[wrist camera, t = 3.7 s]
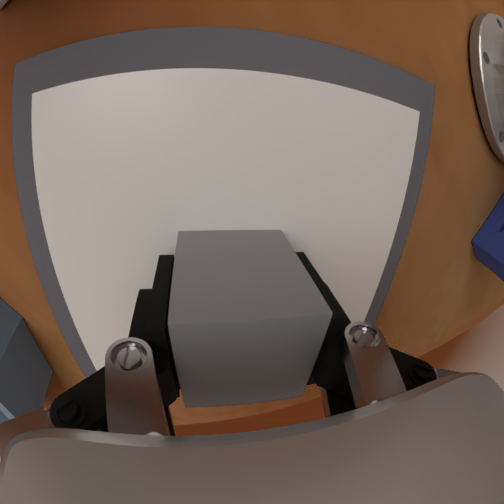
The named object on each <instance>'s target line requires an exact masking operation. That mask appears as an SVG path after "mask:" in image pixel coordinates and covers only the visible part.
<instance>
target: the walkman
mask: <svg viewBox="0 0 504 504" xmlns="http://www.w3.org/2000/svg"><path fill="white" fill-rule="evenodd" d="M472 244H473V247H474V251H475V255H476V259H478V260H479V261H480V262H481V263H483V264H484V265H485V266H486V267H488V268H489V269H490V270H491V271H492V272H493V273H495V274H496V275H497V276H498V277H499V278H500V279H502V280H503V281H504V193H503V195H502V196H501V198H500V200H499V201H498V203H497V205H496V206H495V208H494V209H493V211H492V212H491V214H490V215H489V217H488V218H487V220H486V221H485V223H484V224H483V226H482V227H481V229H480V230H479V231H478V233H477V234H476V236H475V237H474V238H473V240H472Z"/></svg>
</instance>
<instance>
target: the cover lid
mask: <svg viewBox="0 0 504 504" xmlns="http://www.w3.org/2000/svg"><path fill="white" fill-rule="evenodd" d="M419 114H420V112H419V111H417V110H414V109H412V108H409V107H407V106H404V105H401V104H399V103H396V102H393V101H390V100H387V99H384V98H381V97H378V96H375V95H372V94H369V93H365V92H362V91H358V90H355V89H351V88H347V87H343V86H339V85H335V84H331V83H327V82H322V81H317V80H312V79H307V78H302V77H296V76H290V75H283V74H276V73H268V72H259V71H249V70H236V69H216V68H177V69H158V70H145V71H135V72H127V73H119V74H112V75H106V76H100V77H95V78H90V79H85V80H80V81H75V82H71V83H67V84H63V85H59V86H56V87H52V88H48V89H45V90H42V91H39V92H35V93H32V113H31V123H32V149H33V162H34V172H35V180H36V187H37V194H38V200H39V206H40V212H41V217H42V222H43V226H44V231H45V235H46V239H47V243H48V247H49V251H50V255H51V258H52V262H53V265H54V269H55V272H56V275H57V278H58V281H59V284H60V287H61V290H62V293H63V296H64V299H65V301H66V304H67V307H68V309H69V312H70V314H71V317H72V319H73V322H74V324H75V326H76V329H77V331H78V333H79V336H80V338H81V340H82V342H83V344H84V346H85V349H86V351H87V353H88V355H89V357H90V359H91V361H92V363H93V365H94V367H95V368H96V370H97V371H98V370H99V369H101V368H102V367H104V366H105V355H106V351H107V349H108V348H109V346H110V345H112V344H113V343H114V342H115V341H117V340H119V339H122V338H127V337H128V336H129V331H130V326H131V322H132V317H133V313H134V308H135V304H136V300H137V296H138V292H139V290H140V289H152V287H153V282H154V277H155V272H156V268H157V263H158V259H159V255H174V258H175V259H174V267H173V275H172V284H171V293H170V303H169V314H168V329H169V335H170V340H171V346H172V351H173V356H174V361H175V366H176V370H177V375H178V379H179V384H180V388H181V392H182V396H183V400H184V404H185V408H194V407H216V406H231V405H242V404H251V403H260V402H268V401H275V400H281V399H288V398H294V397H299V396H302V394H303V392H304V389H305V387H306V384H307V382H308V380H309V377H310V375H311V372H312V370H313V367H314V364H315V362H316V359H317V357H318V354H319V351H320V349H321V346H322V343H323V340H324V338H325V335H326V332H327V329H328V326H329V323H330V320H331V317H332V314H333V313H332V311H331V309H330V308H329V306H328V304H327V303H326V301H325V299H324V298H323V296H322V294H321V293H320V291H319V289H318V288H317V286H316V285H315V283H314V281H313V280H312V278H311V277H310V275H309V273H308V272H307V270H306V269H305V267H304V265H303V264H302V262H301V261H300V259H299V257H298V256H297V254H296V253H295V252H304V253H305V255H306V256H307V258H308V259H309V261H310V262H311V264H312V265H313V267H314V268H315V270H316V271H317V272H318V274H319V275H320V277H321V278H322V280H323V282H324V283H326V284H327V286H328V287H329V289H330V290H331V292H332V293H333V295H334V296H335V298H336V299H337V301H338V302H339V304H340V305H341V307H342V309H343V310H344V312H345V313H346V315H347V316H348V318H349V319H350V321H351V323H353V322H358V321H360V322H364V320H365V318H366V315H367V313H368V310H369V308H370V305H371V303H372V300H373V298H374V295H375V292H376V290H377V287H378V284H379V282H380V279H381V276H382V273H383V270H384V267H385V264H386V261H387V258H388V255H389V252H390V249H391V246H392V243H393V239H394V236H395V232H396V229H397V225H398V222H399V218H400V214H401V211H402V207H403V203H404V199H405V194H406V190H407V186H408V181H409V176H410V171H411V166H412V161H413V156H414V150H415V144H416V137H417V130H418V123H419Z"/></svg>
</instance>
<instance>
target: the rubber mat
mask: <svg viewBox="0 0 504 504" xmlns="http://www.w3.org/2000/svg"><path fill="white" fill-rule="evenodd" d="M177 68H216V69H236V70H249V71H259V72H268V73H276V74H283V75H290V76H296V77H302V78H307V79H312V80H317V81H322V82H327V83H331V84H335V85H339V86H343V87H347V88H351V89H355V90H358V91H362V92H365V93H369V94H372V95H375V96H378V97H381V98H384V99H387V100H390V101H393V102H396V103H399V104H401V105H404V106H407V107H409V108H412V109H414V110H417V111H419V112H420V114H419V123H418V130H417V137H416V144H415V150H414V156H413V161H412V166H411V171H410V176H409V181H408V186H407V190H406V194H405V199H404V203H403V207H402V211H401V214H400V218H399V222H398V225H397V229H396V232H395V236H394V239H393V243H392V246H391V249H390V252H389V255H388V258H387V261H386V264H385V267H384V270H383V273H382V276H381V279H380V282H379V284H378V287H377V290H376V292H375V295H374V298H373V300H372V303H371V305H370V308H369V310H368V313H367V315H366V318H365V320H364V322H366V323H370V324H372V325H374V323H375V320H376V318H377V316H378V314H379V311H380V309H381V307H382V304H383V302H384V299H385V297H386V295H387V292H388V289H389V287H390V284H391V282H392V279H393V276H394V274H395V271H396V268H397V265H398V263H399V260H400V257H401V254H402V251H403V248H404V245H405V242H406V238H407V235H408V232H409V228H410V225H411V222H412V218H413V214H414V211H415V207H416V203H417V199H418V195H419V191H420V187H421V182H422V178H423V173H424V168H425V163H426V157H427V152H428V146H429V139H430V133H431V125H432V117H433V108H434V96H435V86H434V85H432V84H430V83H429V82H427V81H425V80H423V79H421V78H419V77H417V76H414V75H412V74H410V73H408V72H406V71H404V70H401V69H399V68H397V67H394V66H392V65H390V64H387V63H385V62H382V61H380V60H377V59H374V58H372V57H369V56H366V55H363V54H360V53H357V52H354V51H351V50H348V49H345V48H341V47H338V46H334V45H331V44H327V43H323V42H319V41H315V40H311V39H306V38H302V37H297V36H292V35H286V34H280V33H274V32H267V31H260V30H251V29H240V28H227V27H169V28H155V29H145V30H137V31H129V32H123V33H116V34H111V35H106V36H101V37H96V38H92V39H87V40H83V41H79V42H75V43H72V44H68V45H65V46H62V47H58V48H55V49H52V50H49V51H46V52H43V53H41V54H38V55H35V56H33V57H30V58H28V59H25V60H23V61H20V62H18V63H16V64H15V69H14V78H13V90H12V147H13V160H14V170H15V178H16V185H17V192H18V198H19V204H20V209H21V214H22V218H23V223H24V227H25V231H26V235H27V239H28V243H29V247H30V250H31V254H32V257H33V260H34V264H35V267H36V270H37V273H38V276H39V279H40V282H41V284H42V287H43V290H44V293H45V295H46V298H47V300H48V303H49V305H50V308H51V310H52V312H53V315H54V317H55V319H56V322H57V324H58V326H59V328H60V330H61V332H62V334H63V337H64V339H65V341H66V343H67V345H68V347H69V348H70V350H71V352H72V354H73V356H74V358H75V360H76V362H77V363H78V365H79V367H80V369H81V370H82V372H83V374H84V376H85V377H86V378H87V377H89V376H90V375H92V374H93V373H95V372H96V371H97V370H96V368H95V367H94V365H93V363H92V361H91V359H90V357H89V355H88V353H87V351H86V349H85V346H84V344H83V342H82V340H81V338H80V336H79V333H78V331H77V329H76V326H75V324H74V322H73V319H72V317H71V314H70V312H69V309H68V307H67V304H66V301H65V299H64V296H63V293H62V290H61V287H60V284H59V281H58V278H57V275H56V272H55V269H54V265H53V262H52V258H51V255H50V251H49V247H48V243H47V239H46V235H45V231H44V226H43V222H42V217H41V212H40V206H39V200H38V194H37V187H36V180H35V172H34V162H33V149H32V123H31V113H32V93H35V92H39V91H42V90H45V89H48V88H52V87H56V86H59V85H63V84H67V83H71V82H75V81H80V80H85V79H90V78H95V77H100V76H106V75H112V74H119V73H127V72H135V71H145V70H158V69H177Z"/></svg>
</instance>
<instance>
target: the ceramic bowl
mask: <svg viewBox="0 0 504 504" xmlns="http://www.w3.org/2000/svg"><path fill="white" fill-rule="evenodd" d="M52 373H53V370H52V369H51V367H50V365H49V364H48V362H47V361H46V359H45V357H44V356H43V354H42V352H41V351H40V349H39V347H38V346H37V344H36V342H35V340H34V338H33V337H32V335H31V333H30V331H29V329H28V327H27V325H26V323H25V321H24V319H23V317H21V316H20V315H19V314H18V313H17V312H15V311H14V310H13V309H12V308H11V307H10V306H8V305H7V304H6V303H5V302H4V301H3V300H2V299H1V298H0V424H1V423H3V422H4V421H7V420H10V419H13V418H16V417H18V416H21V415H24V414H27V413H29V412H32V411H35V410H38V409H40V408H42V406H43V403H44V399H45V395H46V392H47V389H48V385H49V382H50V379H51V376H52Z"/></svg>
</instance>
